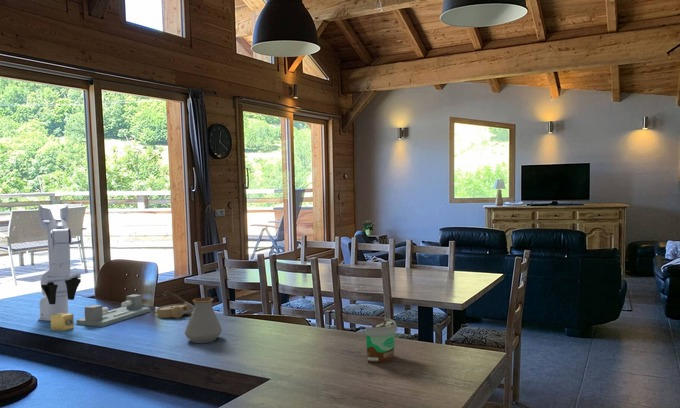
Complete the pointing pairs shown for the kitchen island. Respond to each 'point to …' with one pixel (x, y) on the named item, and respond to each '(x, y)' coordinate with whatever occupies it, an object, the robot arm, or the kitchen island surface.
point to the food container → (381, 341)
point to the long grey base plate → (113, 312)
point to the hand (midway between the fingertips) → (61, 301)
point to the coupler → (62, 321)
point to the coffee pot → (201, 320)
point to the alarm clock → (173, 311)
